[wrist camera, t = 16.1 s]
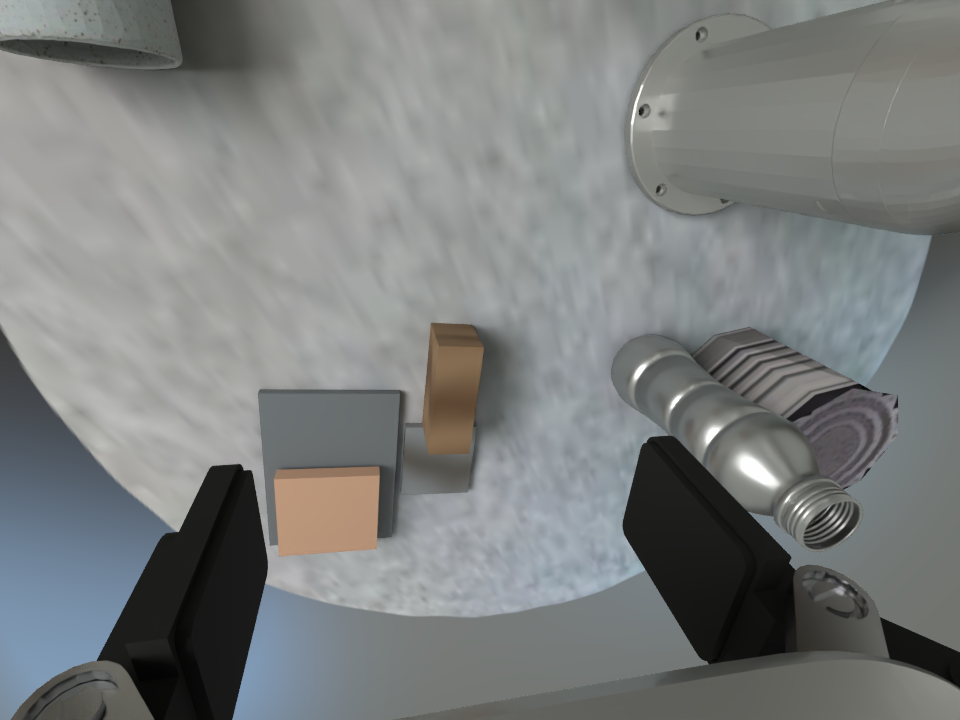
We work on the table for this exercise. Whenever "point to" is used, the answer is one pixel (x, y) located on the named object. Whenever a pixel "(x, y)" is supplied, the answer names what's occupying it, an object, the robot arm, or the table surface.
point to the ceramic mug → (93, 32)
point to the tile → (326, 509)
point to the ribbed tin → (806, 400)
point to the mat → (330, 439)
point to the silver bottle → (737, 442)
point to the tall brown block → (445, 414)
